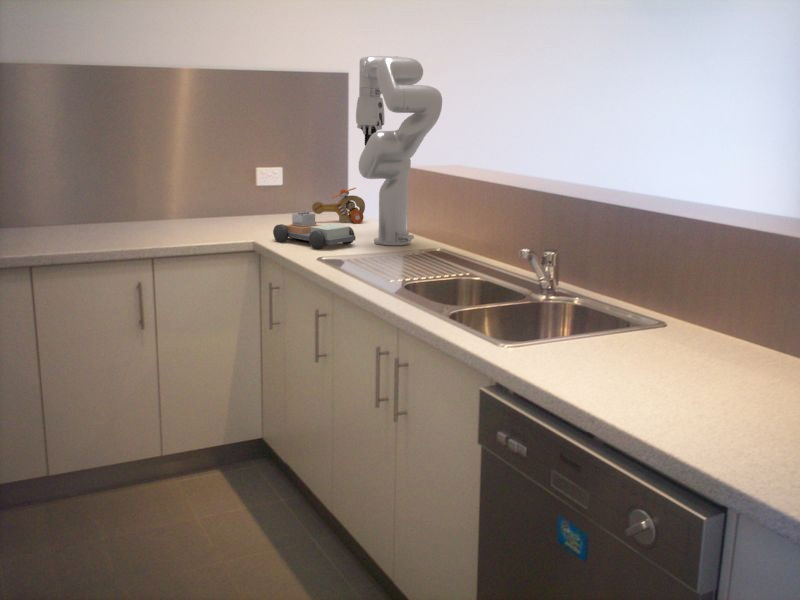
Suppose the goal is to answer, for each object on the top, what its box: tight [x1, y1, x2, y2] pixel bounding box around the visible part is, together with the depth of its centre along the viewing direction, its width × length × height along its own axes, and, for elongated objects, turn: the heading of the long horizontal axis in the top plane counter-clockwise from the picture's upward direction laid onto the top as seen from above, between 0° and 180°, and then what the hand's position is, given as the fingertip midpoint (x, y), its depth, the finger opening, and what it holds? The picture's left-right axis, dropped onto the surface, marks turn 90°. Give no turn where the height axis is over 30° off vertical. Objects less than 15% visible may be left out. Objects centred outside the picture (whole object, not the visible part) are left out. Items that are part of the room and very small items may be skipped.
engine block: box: [291, 211, 316, 228], centre depth 302 cm, size 5×6×6 cm
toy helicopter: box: [311, 187, 366, 224], centre depth 345 cm, size 8×21×14 cm, turn 101°
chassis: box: [272, 222, 356, 250], centre depth 299 cm, size 28×15×6 cm, turn 48°
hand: (369, 145), depth 315 cm, fingers closed
